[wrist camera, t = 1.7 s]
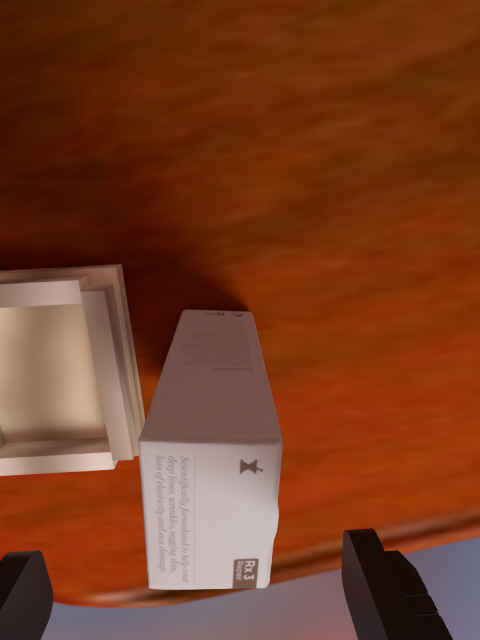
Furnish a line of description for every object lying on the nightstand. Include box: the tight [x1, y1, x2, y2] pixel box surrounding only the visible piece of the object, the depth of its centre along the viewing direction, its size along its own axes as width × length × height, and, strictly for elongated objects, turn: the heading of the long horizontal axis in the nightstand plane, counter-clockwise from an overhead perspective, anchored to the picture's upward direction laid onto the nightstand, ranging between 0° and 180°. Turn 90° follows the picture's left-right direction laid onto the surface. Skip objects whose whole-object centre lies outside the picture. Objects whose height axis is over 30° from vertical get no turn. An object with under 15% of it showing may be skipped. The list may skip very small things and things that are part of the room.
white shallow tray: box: [0, 264, 145, 476], centre depth 21 cm, size 10×12×2 cm
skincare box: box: [138, 310, 283, 590], centre depth 17 cm, size 6×4×12 cm
